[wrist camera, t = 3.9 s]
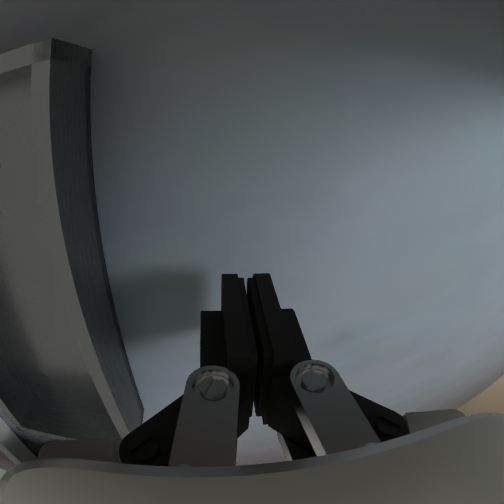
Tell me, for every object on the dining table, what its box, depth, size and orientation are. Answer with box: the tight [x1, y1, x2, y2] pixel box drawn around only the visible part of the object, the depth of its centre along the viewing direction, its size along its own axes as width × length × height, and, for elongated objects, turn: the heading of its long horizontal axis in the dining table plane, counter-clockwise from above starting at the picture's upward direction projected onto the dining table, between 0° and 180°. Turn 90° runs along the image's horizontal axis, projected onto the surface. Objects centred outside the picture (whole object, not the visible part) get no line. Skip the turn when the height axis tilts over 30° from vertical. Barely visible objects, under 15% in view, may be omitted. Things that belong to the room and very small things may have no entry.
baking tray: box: [0, 38, 144, 440], centre depth 10 cm, size 8×18×3 cm, turn 177°
